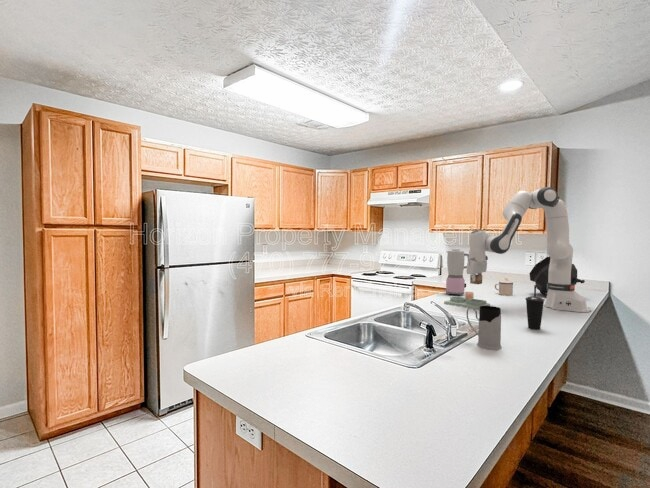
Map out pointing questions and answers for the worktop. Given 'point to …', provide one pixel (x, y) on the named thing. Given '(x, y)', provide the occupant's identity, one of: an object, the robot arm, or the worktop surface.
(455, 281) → the blender
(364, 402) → the worktop surface
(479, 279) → the square piece
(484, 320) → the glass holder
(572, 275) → the wok
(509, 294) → the teacup with lid
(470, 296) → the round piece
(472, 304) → the shape board
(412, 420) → the worktop surface
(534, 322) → the drinking cup
